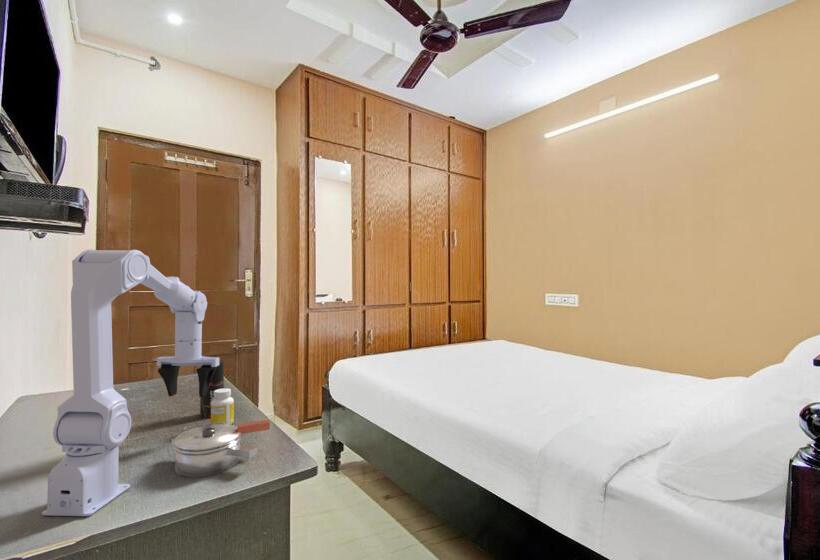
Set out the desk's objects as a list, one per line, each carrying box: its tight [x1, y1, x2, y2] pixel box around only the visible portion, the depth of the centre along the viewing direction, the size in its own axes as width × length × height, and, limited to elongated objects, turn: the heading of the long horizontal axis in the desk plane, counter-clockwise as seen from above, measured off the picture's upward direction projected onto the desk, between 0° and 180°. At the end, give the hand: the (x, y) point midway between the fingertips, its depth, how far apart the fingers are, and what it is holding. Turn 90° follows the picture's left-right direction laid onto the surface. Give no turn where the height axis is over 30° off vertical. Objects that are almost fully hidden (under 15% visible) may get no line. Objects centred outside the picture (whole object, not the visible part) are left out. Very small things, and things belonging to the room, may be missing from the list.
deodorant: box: [199, 359, 225, 419], centre depth 114 cm, size 6×6×15 cm
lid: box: [174, 419, 270, 451], centre depth 85 cm, size 18×12×2 cm
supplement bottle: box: [210, 388, 235, 426], centre depth 104 cm, size 5×5×10 cm
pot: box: [171, 435, 258, 479], centre depth 83 cm, size 20×13×5 cm, turn 74°
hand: (187, 395), depth 98 cm, fingers open, 7 cm apart
